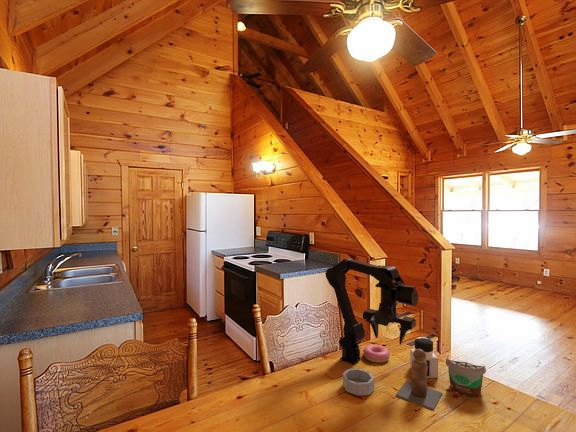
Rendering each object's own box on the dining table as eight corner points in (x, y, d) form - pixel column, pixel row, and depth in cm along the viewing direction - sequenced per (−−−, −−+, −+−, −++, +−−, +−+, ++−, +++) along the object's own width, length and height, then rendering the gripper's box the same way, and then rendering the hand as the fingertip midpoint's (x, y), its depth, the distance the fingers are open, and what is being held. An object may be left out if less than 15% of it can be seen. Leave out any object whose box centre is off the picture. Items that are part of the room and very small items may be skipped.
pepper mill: (410, 395, 104) (411, 350, 104) (411, 387, 109) (412, 345, 108) (426, 399, 102) (427, 353, 102) (426, 391, 107) (427, 347, 106)
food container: (445, 393, 107) (445, 364, 106) (445, 384, 112) (445, 356, 112) (487, 403, 101) (487, 372, 101) (485, 393, 106) (486, 364, 106)
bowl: (338, 389, 109) (338, 377, 109) (352, 376, 117) (352, 365, 117) (365, 400, 103) (365, 387, 103) (377, 386, 111) (377, 374, 111)
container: (438, 378, 116) (438, 343, 116) (417, 378, 116) (417, 343, 116) (429, 367, 124) (429, 335, 123) (409, 367, 124) (409, 335, 124)
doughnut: (376, 367, 125) (376, 356, 125) (357, 355, 134) (357, 346, 134) (395, 360, 130) (395, 350, 130) (376, 350, 140) (376, 340, 139)
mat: (395, 395, 105) (395, 394, 105) (406, 381, 114) (406, 380, 114) (433, 410, 98) (433, 408, 98) (442, 394, 106) (442, 392, 106)
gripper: (356, 300, 117) (356, 341, 118) (406, 310, 106) (406, 356, 106) (368, 294, 126) (368, 332, 126) (416, 302, 114) (416, 344, 115)
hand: (388, 341), depth 118 cm, fingers open, 9 cm apart
